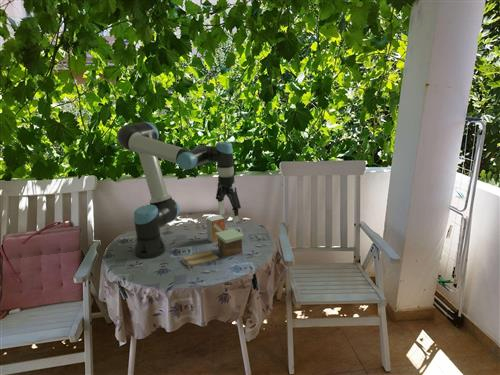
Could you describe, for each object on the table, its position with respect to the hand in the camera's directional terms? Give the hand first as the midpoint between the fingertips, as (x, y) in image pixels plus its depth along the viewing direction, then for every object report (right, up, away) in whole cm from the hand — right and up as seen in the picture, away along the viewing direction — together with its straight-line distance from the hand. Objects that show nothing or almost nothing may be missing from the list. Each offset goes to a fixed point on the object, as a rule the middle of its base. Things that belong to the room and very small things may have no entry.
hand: (228, 217), depth 187 cm
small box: (-8, -14, +22) cm, 27 cm away
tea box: (+1, -18, +5) cm, 19 cm away
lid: (0, -10, +3) cm, 10 cm away
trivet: (-13, -20, 0) cm, 24 cm away
